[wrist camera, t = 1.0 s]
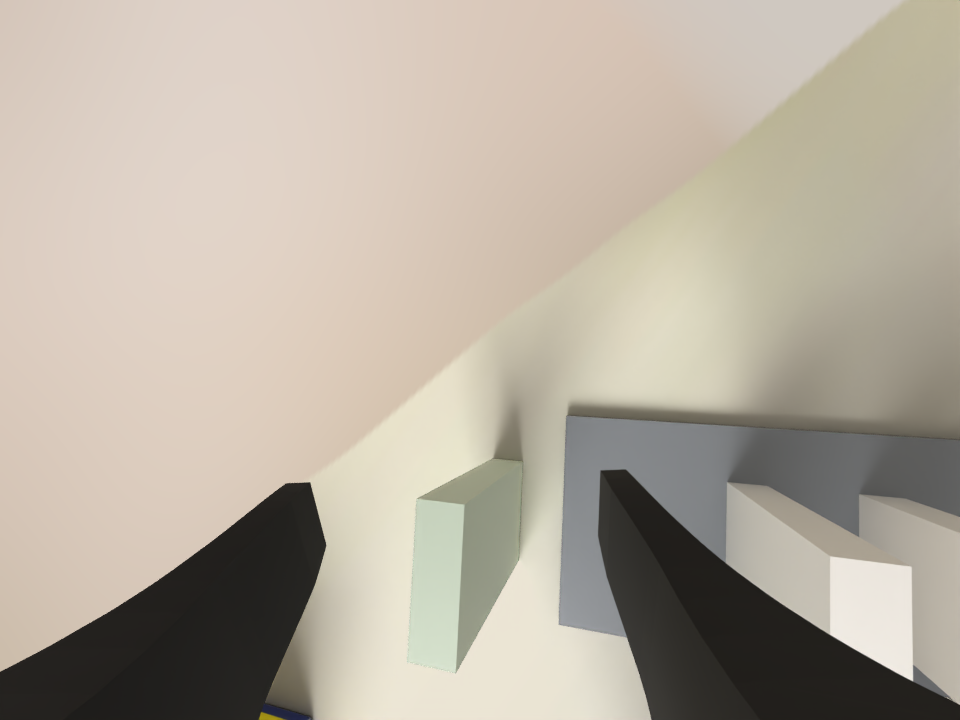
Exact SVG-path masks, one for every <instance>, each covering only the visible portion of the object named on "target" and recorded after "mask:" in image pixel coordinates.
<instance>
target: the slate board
mask: <svg viewBox="0 0 960 720" xmlns="http://www.w3.org/2000/svg"><path fill="white" fill-rule="evenodd" d="M620 469H626V470H627V471H628V472H629V473H630V474H631V475H632V476H633V477H634V478H635V479H636V480H637V481H638V482H639V483H640V484H641V485H642V486H643V487H644V488H645V489H646V490H647V491H648V492H649V493H650V494H651V495H652V496H653V497H654V498H655V499H656V500H657V501H658V502H659V503H660V504H661V505H662V506H663V507H664V508H665V509H666V510H667V511H668V512H669V513H670V514H671V515H672V516H673V517H674V518H675V519H676V520H677V521H678V522H679V523H680V524H682V525H683V526H684V527H685V528H686V529H687V530H688V531H689V532H690V533H691V534H692V535H693V536H695V537H696V538H697V539H698V540H699V541H700V542H701V543H702V544H704V545H705V546H706V547H707V548H708V549H709V550H711V551H712V552H713V553H714V554H715V555H717V556H718V557H719V558H720V559H721V560H723V561H724V562H725V563H726V513H727V482H731V483H742V484H752V485H763V486H768V487H770V488H772V489H774V490H776V491H777V492H779V493H781V494H783V495H784V496H786V497H788V498H790V499H792V500H793V501H795V502H797V503H799V504H801V505H802V506H804V507H806V508H808V509H809V510H811V511H813V512H815V513H817V514H818V515H820V516H822V517H824V518H826V519H827V520H829V521H831V522H833V523H835V524H836V525H838V526H840V527H842V528H843V529H845V530H847V531H849V532H851V533H852V534H854V535H856V536H858V537H859V494H862V495H873V496H884V497H894V498H905V499H908V500H911V501H914V502H917V503H920V504H923V505H926V506H929V507H932V508H935V509H938V510H941V511H943V512H946V513H949V514H952V515H955V516H958V517H960V440H955V439H939V438H922V437H906V436H890V435H874V434H858V433H842V432H826V431H810V430H794V429H778V428H762V427H746V426H730V425H714V424H697V423H681V422H665V421H649V420H633V419H617V418H601V417H585V416H569V415H567V416H566V442H565V469H564V496H563V523H562V549H561V576H560V603H559V625H563V626H568V627H574V628H579V629H585V630H590V631H595V632H601V633H606V634H611V635H617V636H622V637H627V636H626V633H625V630H624V627H623V624H622V621H621V618H620V615H619V612H618V609H617V606H616V603H615V600H614V597H613V594H612V591H611V588H610V585H609V582H608V579H607V576H606V571H605V567H604V562H603V558H602V553H601V548H600V544H599V539H598V521H599V494H600V470H620ZM913 682H915V683H917V684H919V685H921V686H923V687H925V688H927V689H929V690H931V691H933V692H935V693H937V694H939V695H941V696H944V697H949V698H951V697H950V696H948V695H947V694H946V693H945V692H944V691H943V690H942V689H940V688H939V687H938V686H937V685H936V684H935V683H934V682H932V681H931V680H930V679H929V678H928V677H927V676H926V675H925V674H923V673H922V672H921V671H920V670H919V669H918V668H917V667H915V666H914V665H913Z"/></svg>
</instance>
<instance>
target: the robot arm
mask: <svg viewBox="0 0 960 720" xmlns="http://www.w3.org/2000/svg"><path fill="white" fill-rule="evenodd" d="M598 539H599V544H600V548H601V553H602V558H603V562H604V567H605V571H606V576H607V579H608V582H609V585H610V588H611V591H612V594H613V597H614V600H615V603H616V606H617V609H618V612H619V615H620V618H621V621H622V624H623V627H624V630H625V633H626V636H627V639H628V642H629V645H630V648H631V651H632V654H633V656H634V659H635V662H636V665H637V668H638V671H639V674H640V678H641V681H642V684H643V688H644V691H645V694H646V698H647V702H648V706H649V710H650V714H651V718H652V720H960V705H959V704H957V703H955V702H953V701H951V700H949V699H947V698H945V697H943V696H941V695H939V694H937V693H935V692H933V691H931V690H929V689H927V688H925V687H923V686H921V685H919V684H917V683H915V682H913V681H911V680H909V679H907V678H905V677H904V676H902V675H900V674H898V673H896V672H894V671H892V670H891V669H889V668H887V667H885V666H884V665H882V664H880V663H878V662H876V661H875V660H873V659H871V658H869V657H868V656H866V655H864V654H862V653H860V652H859V651H857V650H855V649H853V648H852V647H850V646H848V645H846V644H845V643H843V642H841V641H840V640H838V639H836V638H835V637H833V636H831V635H830V634H828V633H826V632H825V631H823V630H821V629H820V628H818V627H817V626H815V625H814V624H812V623H811V622H809V621H807V620H806V619H804V618H803V617H801V616H800V615H798V614H797V613H795V612H793V611H792V610H790V609H789V608H787V607H786V606H784V605H783V604H781V603H780V602H778V601H777V600H775V599H774V598H772V597H771V596H770V595H768V594H767V593H765V592H764V591H763V590H761V589H760V588H758V587H757V586H756V585H754V584H753V583H752V582H750V581H749V580H748V579H746V578H745V577H743V576H742V575H741V574H739V573H738V572H737V571H735V570H734V569H733V568H732V567H730V566H729V565H728V564H726V563H725V562H724V561H723V560H721V559H720V558H719V557H718V556H717V555H715V554H714V553H713V552H712V551H711V550H709V549H708V548H707V547H706V546H705V545H704V544H702V543H701V542H700V541H699V540H698V539H697V538H696V537H695V536H693V535H692V534H691V533H690V532H689V531H688V530H687V529H686V528H685V527H684V526H683V525H682V524H680V523H679V522H678V521H677V520H676V519H675V518H674V517H673V516H672V515H671V514H670V513H669V512H668V511H667V510H666V509H665V508H664V507H663V506H662V505H661V504H660V503H659V502H658V501H657V500H656V499H655V498H654V497H653V496H652V495H651V494H650V493H649V492H648V491H647V490H646V489H645V488H644V487H643V486H642V485H641V484H640V483H639V482H638V481H637V480H636V479H635V478H634V477H633V476H632V475H631V474H630V473H629V472H628V471H627V470H626V469H620V470H600V494H599V521H598ZM325 548H326V542H325V538H324V534H323V531H322V527H321V523H320V519H319V515H318V511H317V507H316V503H315V500H314V496H313V492H312V488H311V484H310V482H308V483H287V484H285V485H284V486H282V487H281V488H279V489H278V490H277V491H275V492H274V493H273V494H271V495H270V496H269V497H268V498H266V499H265V500H264V501H262V502H261V503H260V504H259V505H257V506H256V507H255V508H254V509H253V510H251V511H250V512H249V513H247V514H246V515H245V516H244V517H242V518H241V519H240V520H238V521H237V522H236V523H235V524H234V525H232V526H231V527H230V528H229V529H227V530H226V531H225V532H223V533H222V534H221V535H219V536H218V537H217V538H216V539H214V540H213V541H212V542H210V543H209V544H208V545H206V546H205V547H204V548H202V549H201V550H200V551H198V552H197V553H195V554H194V555H193V556H192V557H190V558H189V559H187V560H186V561H185V562H183V563H182V564H180V565H179V566H178V567H176V568H175V569H174V570H172V571H171V572H170V573H168V574H167V575H165V576H164V577H162V578H161V579H159V580H158V581H157V582H155V583H154V584H152V585H151V586H149V587H148V588H146V589H145V590H143V591H141V592H140V593H138V594H137V595H135V596H134V597H132V598H131V599H129V600H127V601H126V602H124V603H123V604H121V605H120V606H118V607H116V608H115V609H113V610H111V611H110V612H108V613H107V614H105V615H103V616H101V617H100V618H98V619H96V620H95V621H93V622H91V623H89V624H87V625H86V626H84V627H82V628H80V629H79V630H77V631H75V632H73V633H72V634H70V635H68V636H67V637H65V638H63V639H61V640H60V641H58V642H56V643H54V644H53V645H51V646H49V647H47V648H45V649H43V650H41V651H40V652H38V653H36V654H34V655H32V656H30V657H28V658H26V659H25V660H22V661H20V662H19V663H17V664H15V665H13V666H11V667H9V668H7V669H5V670H3V671H1V672H0V720H259V717H260V714H261V711H262V708H263V705H264V703H265V700H266V698H267V695H268V693H269V690H270V687H271V685H272V682H273V680H274V678H275V675H276V673H277V671H278V669H279V666H280V664H281V662H282V659H283V657H284V655H285V653H286V650H287V648H288V646H289V644H290V641H291V639H292V637H293V634H294V632H295V630H296V628H297V625H298V623H299V621H300V619H301V616H302V614H303V612H304V609H305V607H306V605H307V602H308V600H309V598H310V595H311V593H312V590H313V588H314V586H315V583H316V579H317V576H318V573H319V570H320V566H321V563H322V559H323V556H324V552H325Z"/></svg>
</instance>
